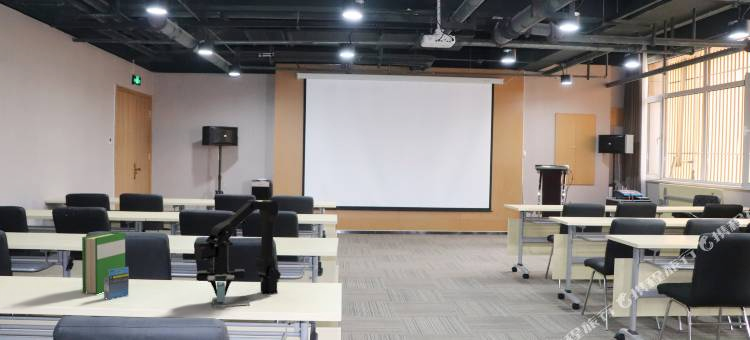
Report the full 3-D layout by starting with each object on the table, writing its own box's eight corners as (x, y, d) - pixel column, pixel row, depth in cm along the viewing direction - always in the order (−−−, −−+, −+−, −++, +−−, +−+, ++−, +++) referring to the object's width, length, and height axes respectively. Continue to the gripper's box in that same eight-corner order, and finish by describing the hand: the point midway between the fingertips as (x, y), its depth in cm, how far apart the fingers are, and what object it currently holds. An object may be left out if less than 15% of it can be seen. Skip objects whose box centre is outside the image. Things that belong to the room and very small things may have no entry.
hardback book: (97, 295, 248) (97, 238, 247) (82, 293, 250) (82, 237, 249) (125, 285, 265) (125, 232, 264) (111, 284, 267) (110, 231, 266)
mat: (247, 296, 248) (247, 295, 248) (249, 305, 234) (249, 304, 234) (213, 298, 244) (213, 297, 244) (213, 307, 230) (213, 306, 230)
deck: (224, 296, 243) (224, 281, 242) (225, 301, 234) (225, 286, 234) (216, 296, 242) (216, 281, 242) (217, 302, 233) (217, 286, 233)
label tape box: (123, 294, 250) (123, 265, 249) (129, 295, 247) (129, 266, 247) (103, 298, 242) (103, 268, 242) (109, 300, 240) (109, 269, 240)
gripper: (243, 252, 248) (243, 290, 248) (197, 254, 243) (197, 292, 243) (245, 257, 237) (245, 296, 237) (196, 259, 232) (196, 299, 232)
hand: (220, 295), depth 238 cm, fingers closed on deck, 3 cm apart
